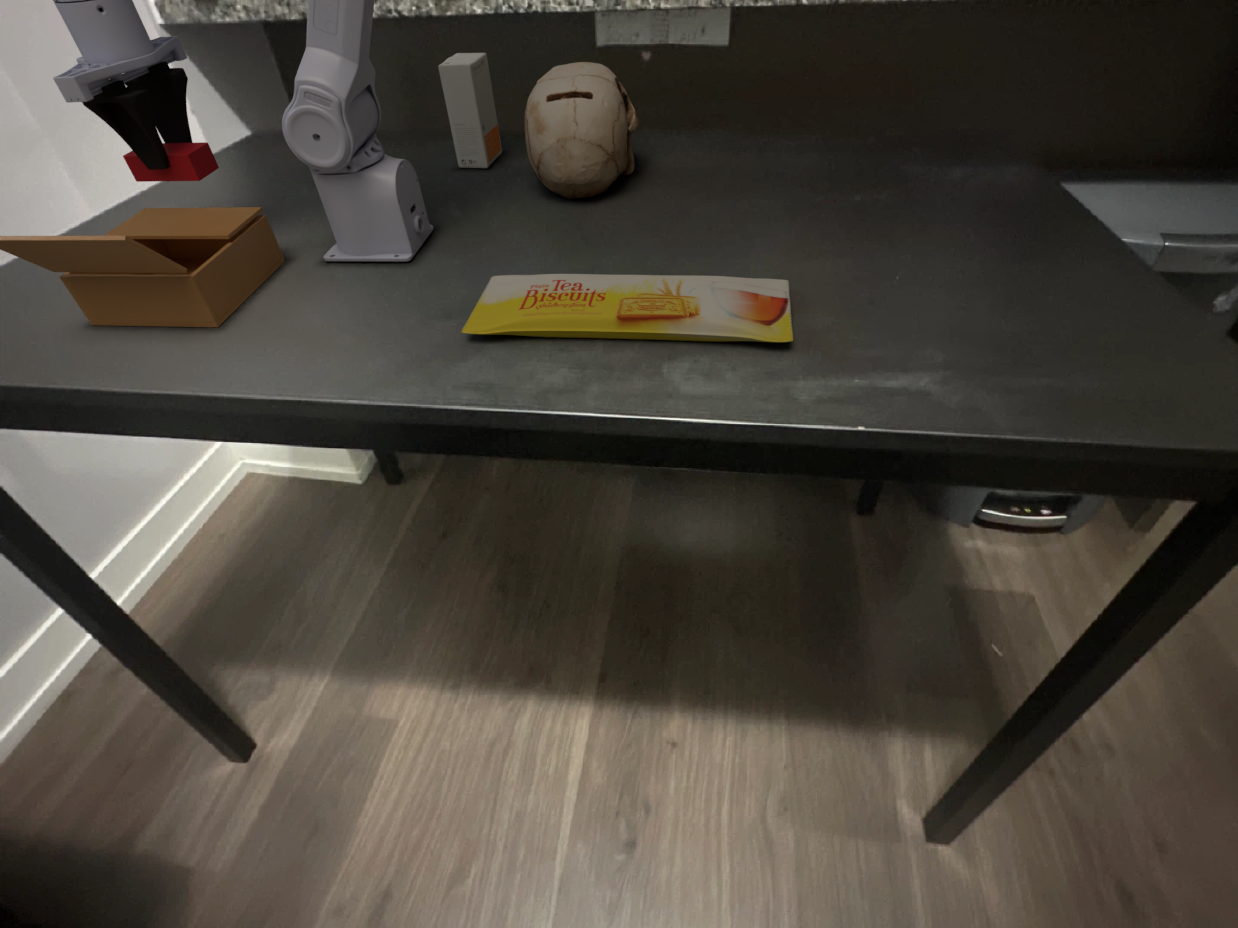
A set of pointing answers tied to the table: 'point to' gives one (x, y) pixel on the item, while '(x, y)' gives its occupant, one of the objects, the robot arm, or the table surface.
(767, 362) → the table surface
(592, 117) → the coin bank
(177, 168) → the red block
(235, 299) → the carton
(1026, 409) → the table surface
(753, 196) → the table surface
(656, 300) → the food package
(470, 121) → the cosmetic box
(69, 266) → the flap
